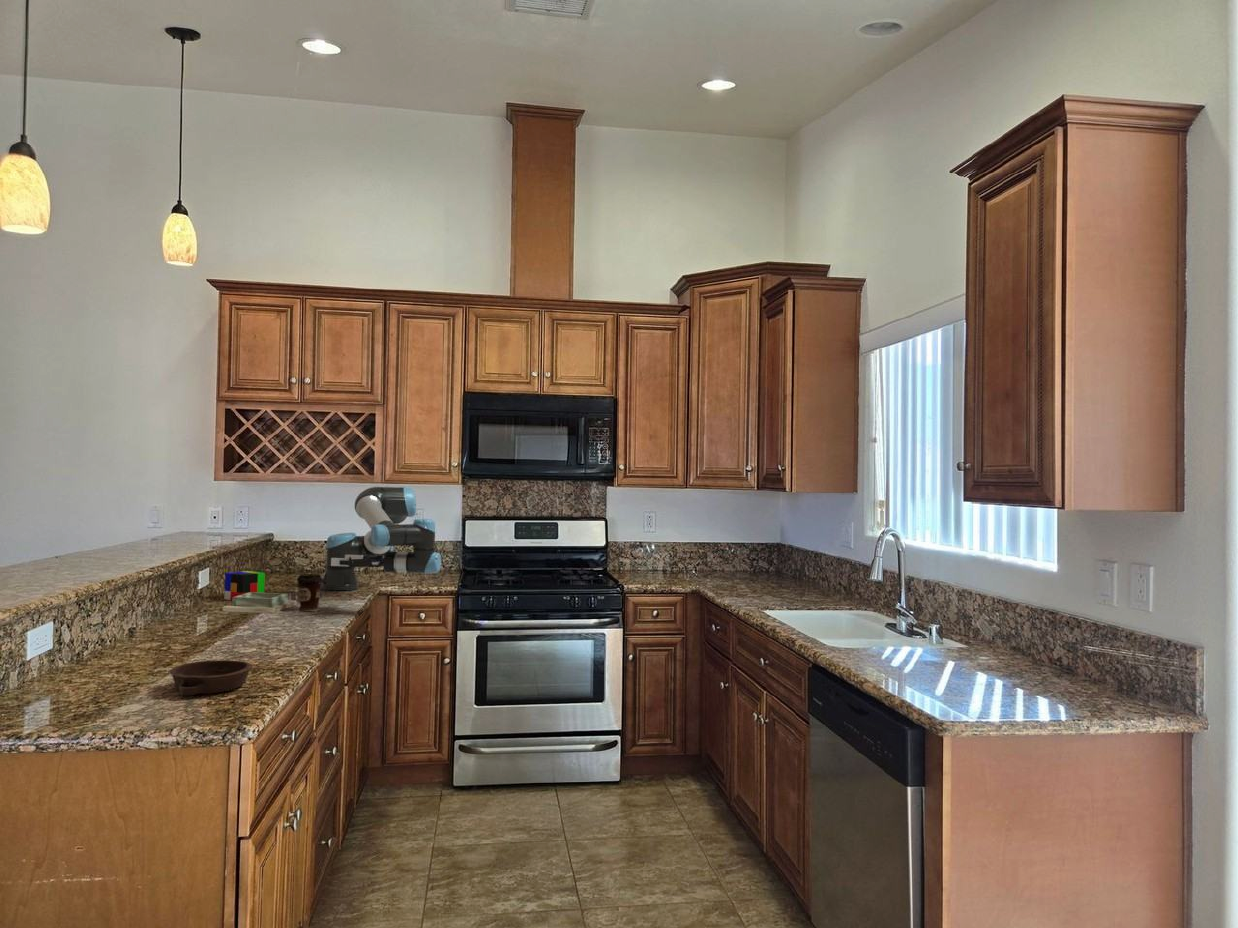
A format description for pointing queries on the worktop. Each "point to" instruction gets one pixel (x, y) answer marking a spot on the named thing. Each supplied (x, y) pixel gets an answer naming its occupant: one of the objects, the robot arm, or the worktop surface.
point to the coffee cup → (309, 591)
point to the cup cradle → (259, 603)
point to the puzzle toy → (243, 583)
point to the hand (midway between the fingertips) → (338, 560)
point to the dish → (209, 676)
